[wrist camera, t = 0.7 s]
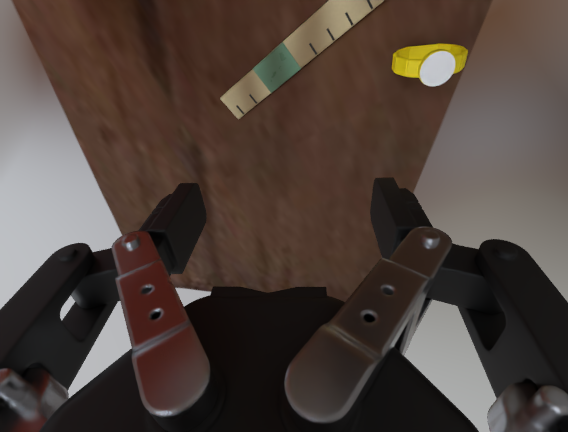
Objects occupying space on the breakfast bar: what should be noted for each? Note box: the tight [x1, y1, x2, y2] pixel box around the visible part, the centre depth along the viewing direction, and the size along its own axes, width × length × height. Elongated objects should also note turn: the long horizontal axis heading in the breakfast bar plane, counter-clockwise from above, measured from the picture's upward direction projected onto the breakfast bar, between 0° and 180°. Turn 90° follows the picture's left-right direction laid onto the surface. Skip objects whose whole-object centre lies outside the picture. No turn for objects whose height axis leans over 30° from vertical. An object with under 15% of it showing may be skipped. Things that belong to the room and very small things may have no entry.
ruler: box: [220, 0, 384, 119], centre depth 28 cm, size 24×3×1 cm, turn 128°
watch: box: [392, 43, 468, 87], centre depth 26 cm, size 6×3×6 cm, turn 97°
